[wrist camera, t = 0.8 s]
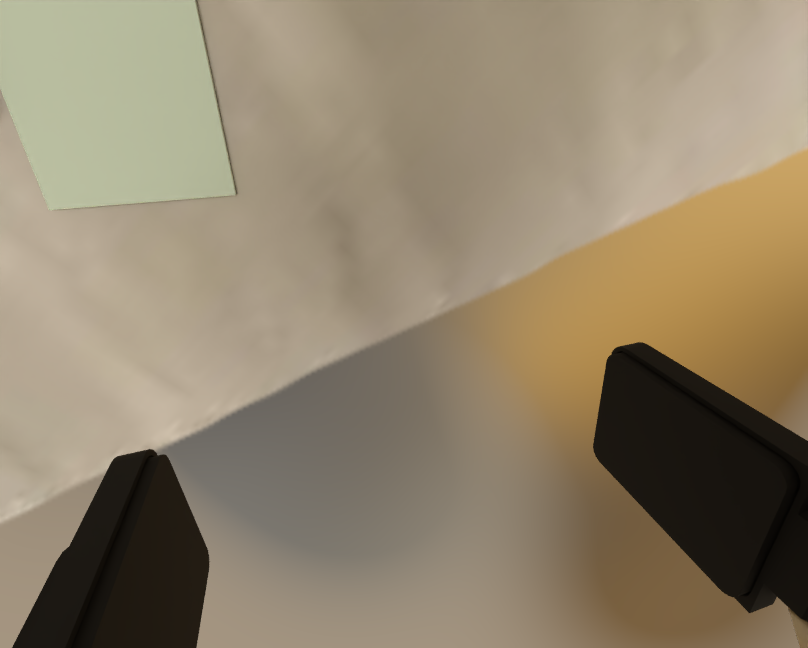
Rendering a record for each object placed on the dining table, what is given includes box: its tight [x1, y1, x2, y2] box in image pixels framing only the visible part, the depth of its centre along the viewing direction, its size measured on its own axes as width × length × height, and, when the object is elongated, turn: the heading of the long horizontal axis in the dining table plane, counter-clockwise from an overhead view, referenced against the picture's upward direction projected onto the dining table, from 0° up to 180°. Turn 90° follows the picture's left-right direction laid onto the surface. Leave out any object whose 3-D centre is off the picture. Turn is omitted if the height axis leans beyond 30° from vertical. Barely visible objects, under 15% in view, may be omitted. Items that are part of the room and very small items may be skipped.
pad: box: [0, 0, 236, 210], centre depth 27 cm, size 12×12×1 cm
